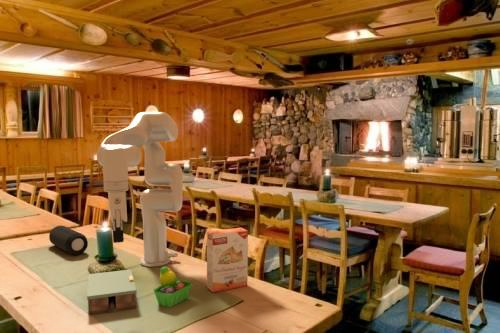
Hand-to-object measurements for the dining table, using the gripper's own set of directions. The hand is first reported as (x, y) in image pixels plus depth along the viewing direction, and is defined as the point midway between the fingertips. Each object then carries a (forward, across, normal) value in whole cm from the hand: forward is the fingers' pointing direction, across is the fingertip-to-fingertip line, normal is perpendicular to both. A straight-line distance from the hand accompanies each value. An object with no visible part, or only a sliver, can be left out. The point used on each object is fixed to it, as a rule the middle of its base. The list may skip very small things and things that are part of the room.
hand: (118, 241), depth 136 cm
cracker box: (+21, +1, -37) cm, 43 cm away
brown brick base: (+21, +4, +3) cm, 22 cm away
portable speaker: (+22, +71, +20) cm, 77 cm away
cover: (+16, +4, +3) cm, 17 cm away
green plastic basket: (+21, -4, -16) cm, 27 cm away
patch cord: (+20, +3, +3) cm, 20 cm away
